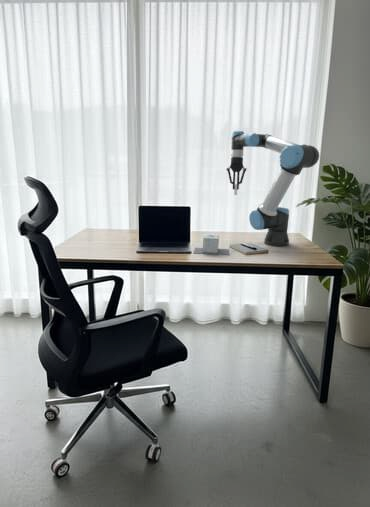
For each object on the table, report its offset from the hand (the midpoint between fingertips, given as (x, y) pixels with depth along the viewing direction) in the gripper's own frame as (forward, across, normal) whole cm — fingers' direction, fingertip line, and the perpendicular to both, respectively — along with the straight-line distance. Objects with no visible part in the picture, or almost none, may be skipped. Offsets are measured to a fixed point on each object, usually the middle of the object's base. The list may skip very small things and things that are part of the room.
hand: (235, 194), depth 237 cm
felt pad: (+30, +14, +36) cm, 49 cm away
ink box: (+25, +14, +29) cm, 41 cm away
